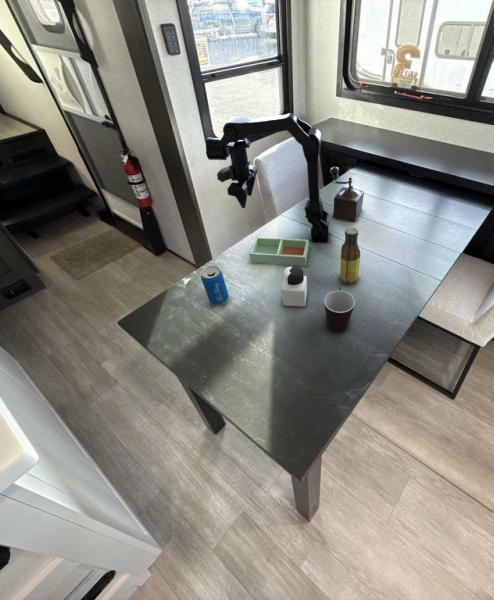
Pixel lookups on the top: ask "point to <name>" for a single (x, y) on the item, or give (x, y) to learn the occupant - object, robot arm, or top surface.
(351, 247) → the sauce bottle
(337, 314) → the coffee mug
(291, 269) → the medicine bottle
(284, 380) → the top surface
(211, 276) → the beverage can
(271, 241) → the green divided tray
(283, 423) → the top surface
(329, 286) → the top surface
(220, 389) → the top surface
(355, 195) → the coffee grinder
